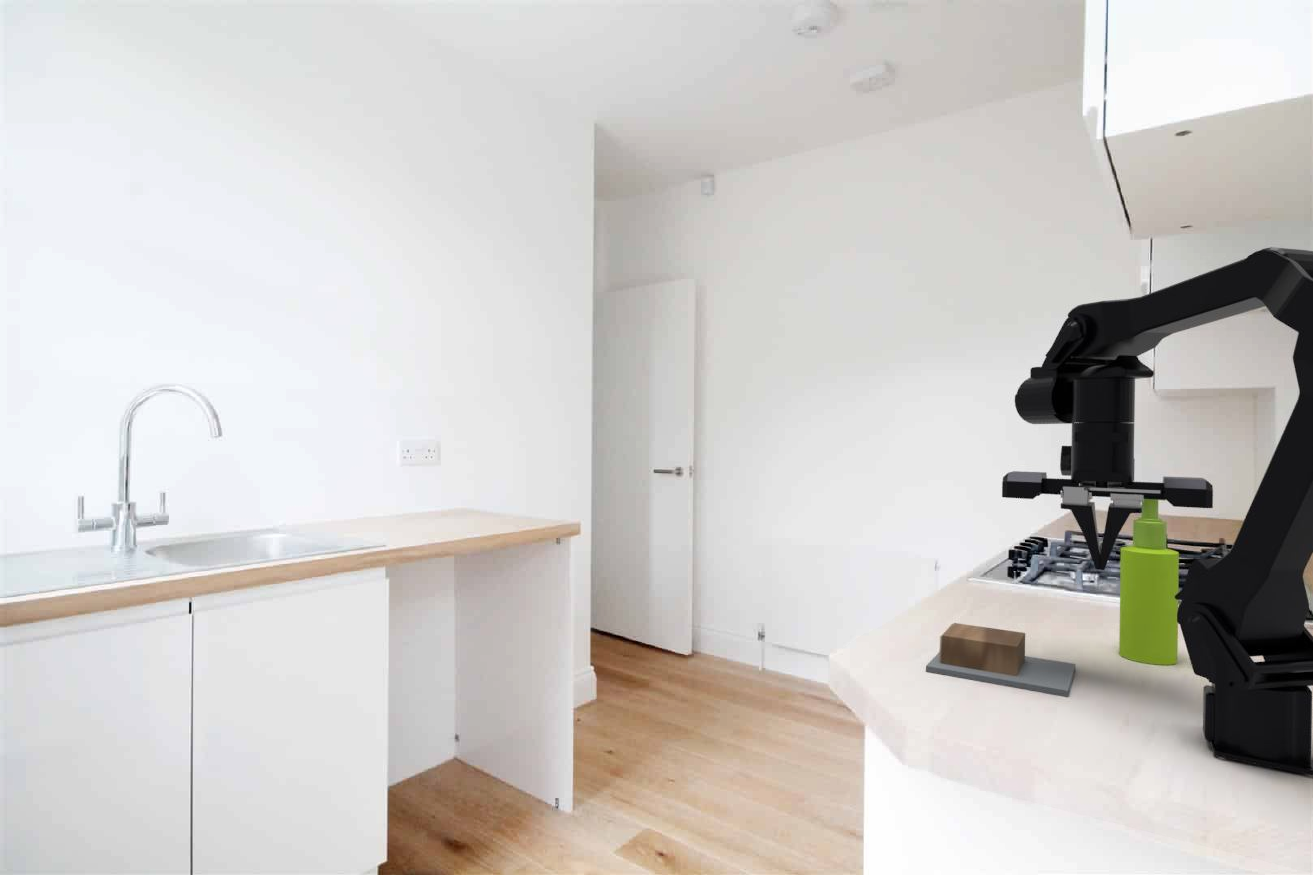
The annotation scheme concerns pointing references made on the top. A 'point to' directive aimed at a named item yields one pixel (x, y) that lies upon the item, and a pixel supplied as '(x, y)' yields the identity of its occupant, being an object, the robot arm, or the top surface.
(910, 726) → the top surface
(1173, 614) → the soap dispenser
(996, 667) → the walnut slab
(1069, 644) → the top surface
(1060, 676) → the mat
